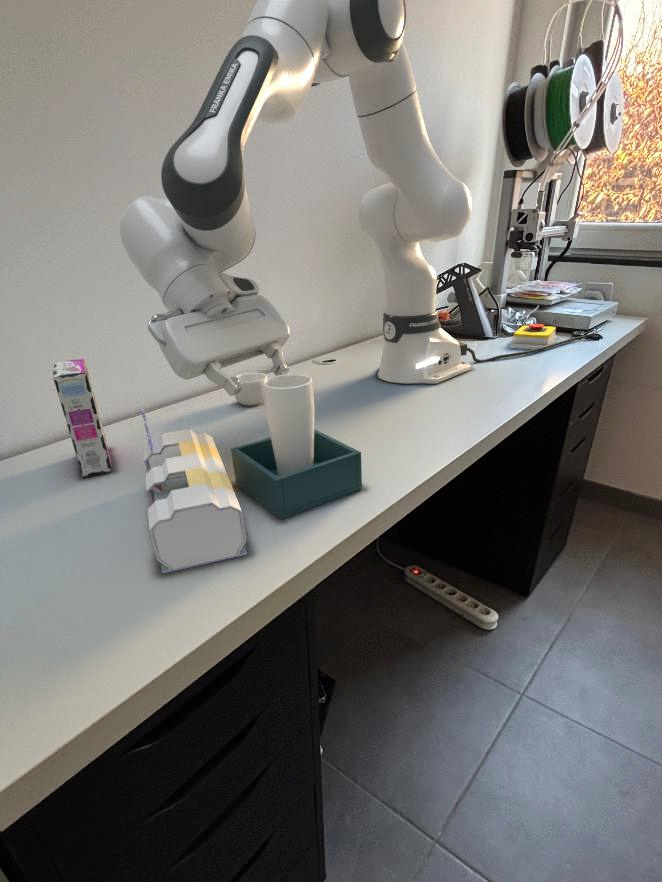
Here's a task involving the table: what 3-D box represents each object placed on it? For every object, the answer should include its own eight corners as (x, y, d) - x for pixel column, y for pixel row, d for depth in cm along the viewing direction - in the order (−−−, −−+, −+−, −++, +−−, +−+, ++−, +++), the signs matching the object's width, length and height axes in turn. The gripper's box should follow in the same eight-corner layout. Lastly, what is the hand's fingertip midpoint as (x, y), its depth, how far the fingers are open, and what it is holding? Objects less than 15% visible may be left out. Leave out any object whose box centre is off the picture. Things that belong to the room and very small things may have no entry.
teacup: (257, 410, 109) (253, 384, 107) (226, 406, 113) (223, 381, 110) (281, 395, 117) (279, 371, 114) (252, 392, 120) (249, 368, 118)
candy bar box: (114, 471, 87) (87, 372, 78) (82, 478, 85) (50, 377, 77) (109, 448, 96) (84, 356, 88) (80, 454, 94) (51, 361, 86)
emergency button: (559, 321, 146) (548, 332, 135) (556, 337, 148) (545, 350, 137) (524, 319, 150) (510, 330, 139) (522, 335, 152) (508, 347, 141)
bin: (311, 459, 86) (309, 425, 83) (362, 489, 76) (361, 452, 73) (236, 484, 80) (230, 448, 77) (280, 519, 70) (275, 480, 67)
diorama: (151, 484, 82) (131, 402, 75) (218, 471, 84) (204, 391, 78) (160, 573, 61) (134, 471, 54) (248, 554, 63) (232, 453, 57)
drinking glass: (314, 493, 74) (306, 388, 67) (268, 491, 76) (255, 388, 68) (323, 472, 80) (317, 373, 72) (280, 470, 81) (269, 373, 74)
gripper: (147, 300, 65) (213, 389, 64) (262, 278, 78) (317, 351, 78) (134, 335, 70) (196, 418, 69) (244, 308, 83) (297, 377, 83)
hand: (261, 382), depth 74 cm, fingers open, 8 cm apart
